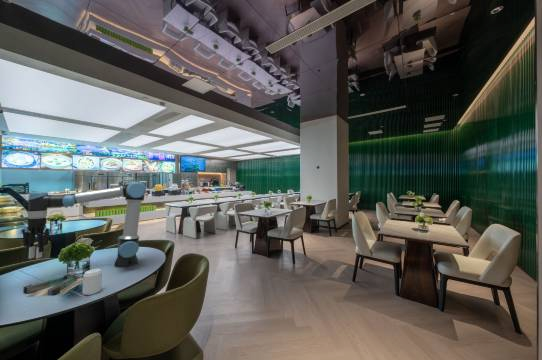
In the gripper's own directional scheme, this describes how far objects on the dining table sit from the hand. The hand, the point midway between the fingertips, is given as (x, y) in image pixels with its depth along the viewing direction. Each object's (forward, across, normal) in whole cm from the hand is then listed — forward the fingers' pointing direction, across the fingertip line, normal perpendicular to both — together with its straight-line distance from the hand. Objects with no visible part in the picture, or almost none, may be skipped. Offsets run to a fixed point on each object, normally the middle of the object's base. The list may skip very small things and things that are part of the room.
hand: (35, 257), depth 119 cm
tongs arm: (+17, -8, -1) cm, 19 cm away
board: (+19, -14, +1) cm, 23 cm away
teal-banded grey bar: (+17, -16, +2) cm, 24 cm away
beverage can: (+19, -36, +9) cm, 41 cm away
